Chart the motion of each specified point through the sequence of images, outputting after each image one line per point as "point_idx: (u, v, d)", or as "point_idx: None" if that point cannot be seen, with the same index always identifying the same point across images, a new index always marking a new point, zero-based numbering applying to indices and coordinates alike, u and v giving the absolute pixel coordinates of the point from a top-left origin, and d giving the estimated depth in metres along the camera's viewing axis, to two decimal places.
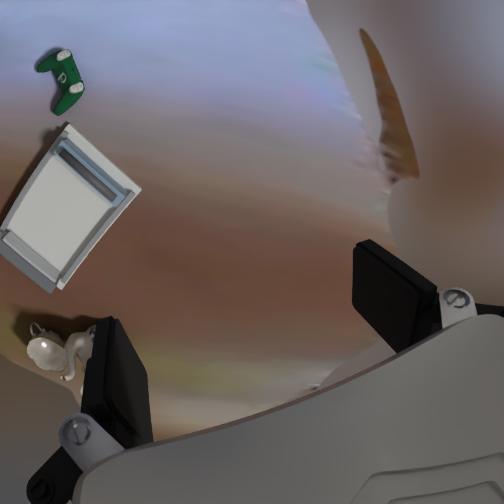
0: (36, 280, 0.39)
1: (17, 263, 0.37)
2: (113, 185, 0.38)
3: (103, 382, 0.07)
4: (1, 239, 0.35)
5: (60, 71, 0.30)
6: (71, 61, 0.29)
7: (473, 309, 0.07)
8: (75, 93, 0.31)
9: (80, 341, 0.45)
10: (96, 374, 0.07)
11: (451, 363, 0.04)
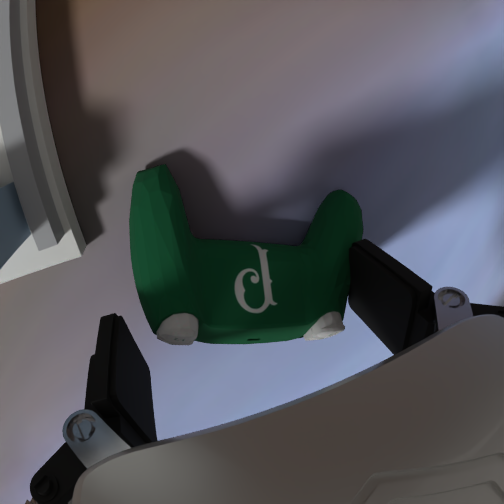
0: None
1: None
2: None
3: (107, 378, 0.07)
4: None
5: (283, 290, 0.11)
6: (282, 339, 0.12)
7: (468, 308, 0.07)
8: (158, 324, 0.09)
9: None
10: (100, 370, 0.07)
11: (451, 363, 0.04)
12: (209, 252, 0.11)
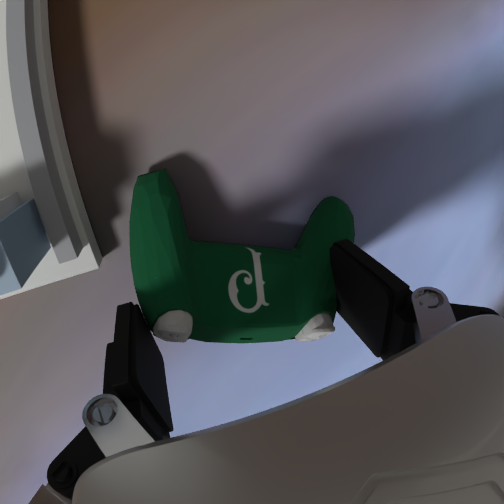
0: None
1: None
2: None
3: (128, 363, 0.08)
4: None
5: (275, 291, 0.12)
6: (274, 340, 0.12)
7: (448, 307, 0.08)
8: (154, 320, 0.10)
9: None
10: (120, 355, 0.08)
11: (451, 363, 0.04)
12: (205, 253, 0.11)
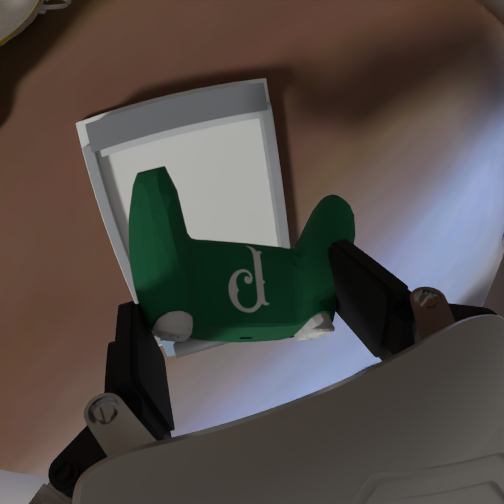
0: (132, 115, 0.17)
1: (196, 103, 0.18)
2: None
3: (129, 361, 0.08)
4: (262, 110, 0.20)
5: (275, 291, 0.12)
6: (274, 338, 0.12)
7: (446, 307, 0.08)
8: (154, 321, 0.10)
9: None
10: (122, 354, 0.08)
11: (451, 363, 0.04)
12: (205, 252, 0.11)
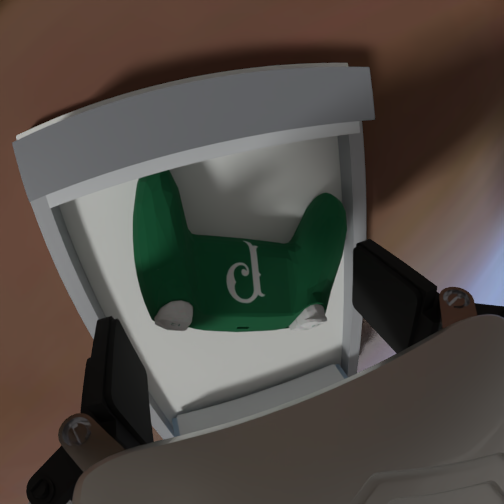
0: (107, 119, 0.08)
1: (246, 94, 0.08)
2: None
3: (103, 382, 0.07)
4: None
5: (270, 283, 0.12)
6: (269, 329, 0.13)
7: (473, 309, 0.07)
8: (157, 310, 0.11)
9: None
10: (96, 374, 0.07)
11: (451, 363, 0.04)
12: (204, 246, 0.12)
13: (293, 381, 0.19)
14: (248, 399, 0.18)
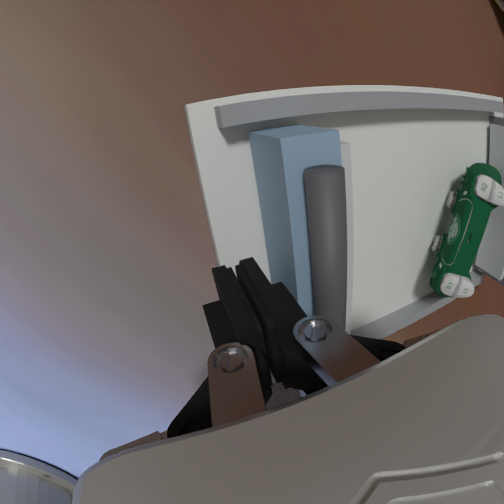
0: None
1: None
2: (283, 206, 0.10)
3: (247, 311, 0.09)
4: (502, 281, 0.18)
5: None
6: (458, 258, 0.14)
7: (341, 331, 0.08)
8: (497, 181, 0.12)
9: None
10: (237, 307, 0.09)
11: (451, 363, 0.04)
12: None
13: None
14: None
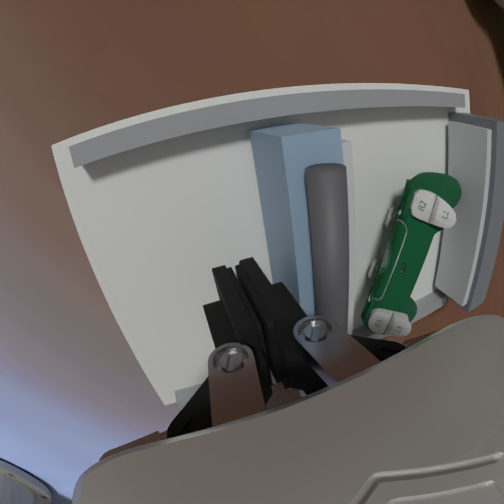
0: None
1: (494, 244, 0.14)
2: (284, 205, 0.10)
3: (247, 312, 0.09)
4: (466, 306, 0.16)
5: None
6: (388, 292, 0.13)
7: (341, 331, 0.08)
8: (443, 197, 0.11)
9: None
10: (236, 307, 0.09)
11: (451, 363, 0.04)
12: None
13: None
14: None
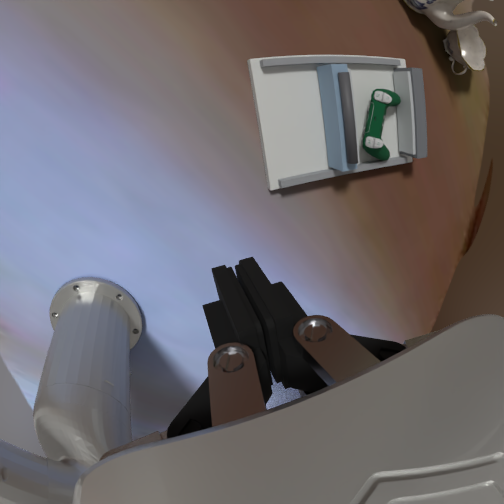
0: (422, 92, 0.31)
1: (423, 123, 0.33)
2: (331, 84, 0.28)
3: (247, 312, 0.09)
4: (416, 155, 0.35)
5: (381, 129, 0.32)
6: (370, 128, 0.31)
7: (341, 331, 0.08)
8: (386, 93, 0.30)
9: (441, 15, 0.26)
10: (236, 307, 0.09)
11: (451, 363, 0.04)
12: None
13: None
14: None
